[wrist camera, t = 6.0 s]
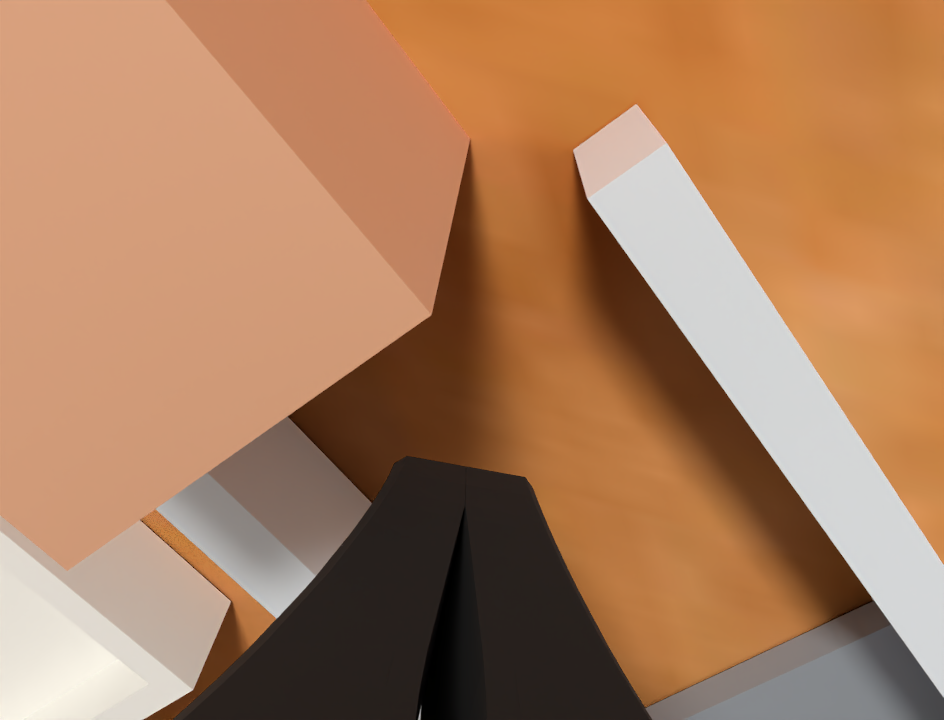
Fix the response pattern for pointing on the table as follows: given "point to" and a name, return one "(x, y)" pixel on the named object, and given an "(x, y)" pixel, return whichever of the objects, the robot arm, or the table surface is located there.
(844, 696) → the grey u-shaped piece
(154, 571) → the tray
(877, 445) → the table surface
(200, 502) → the channel
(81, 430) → the block
